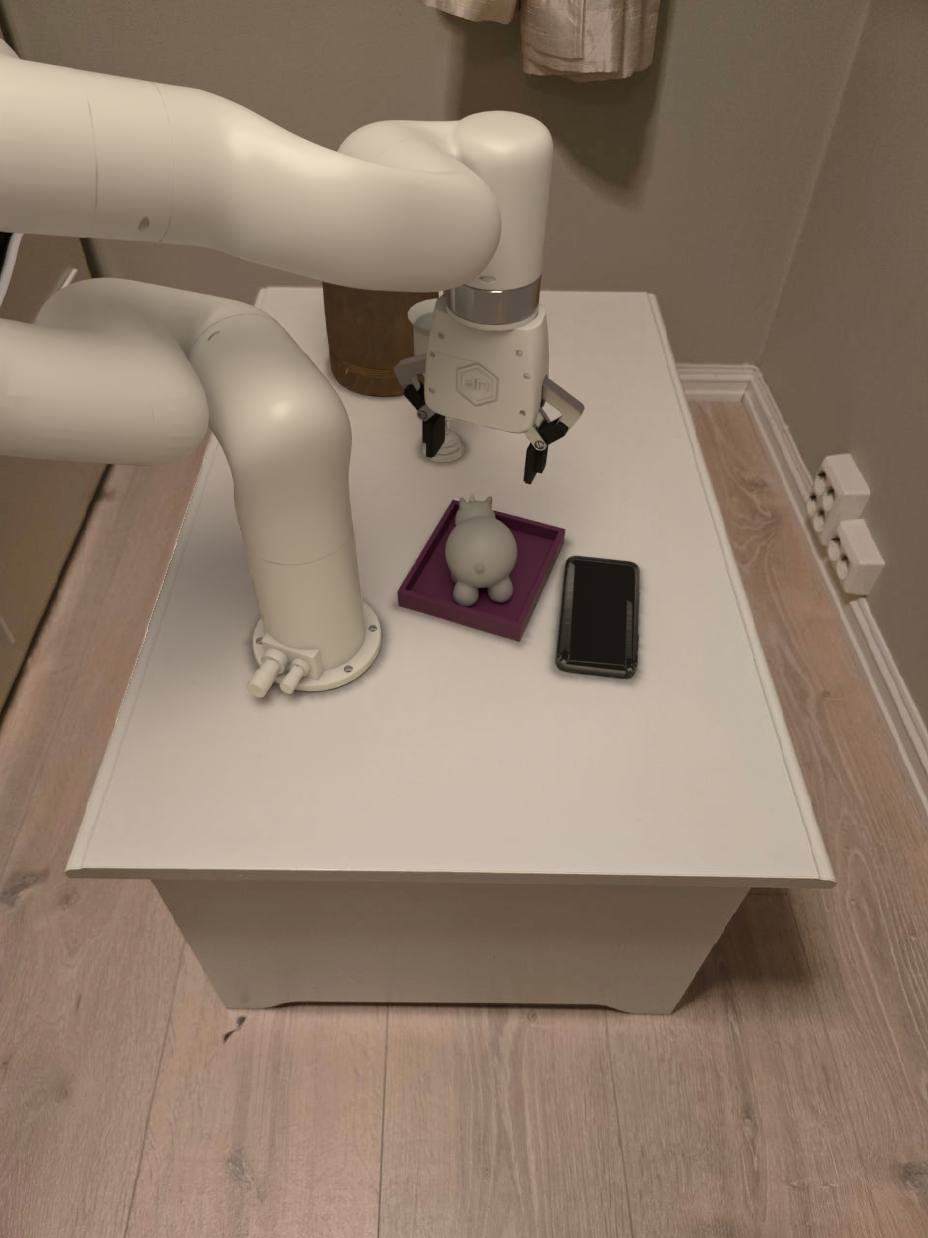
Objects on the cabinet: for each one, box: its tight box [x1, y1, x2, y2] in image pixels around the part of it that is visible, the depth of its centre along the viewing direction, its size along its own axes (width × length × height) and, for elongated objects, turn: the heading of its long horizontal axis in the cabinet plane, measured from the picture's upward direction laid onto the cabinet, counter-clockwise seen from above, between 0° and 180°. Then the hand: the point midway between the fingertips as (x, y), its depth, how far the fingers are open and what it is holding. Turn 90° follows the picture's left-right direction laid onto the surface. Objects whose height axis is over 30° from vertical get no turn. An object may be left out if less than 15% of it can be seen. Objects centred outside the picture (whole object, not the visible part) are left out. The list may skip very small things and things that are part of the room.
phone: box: [555, 555, 641, 679], centre depth 91 cm, size 8×1×15 cm
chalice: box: [408, 299, 465, 464], centre depth 102 cm, size 7×7×18 cm
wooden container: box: [321, 281, 440, 397], centre depth 113 cm, size 15×15×22 cm
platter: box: [397, 499, 566, 642], centre depth 94 cm, size 15×13×2 cm
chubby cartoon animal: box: [445, 492, 517, 607], centre depth 91 cm, size 7×12×8 cm, turn 4°
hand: (483, 462), depth 84 cm, fingers open, 9 cm apart
